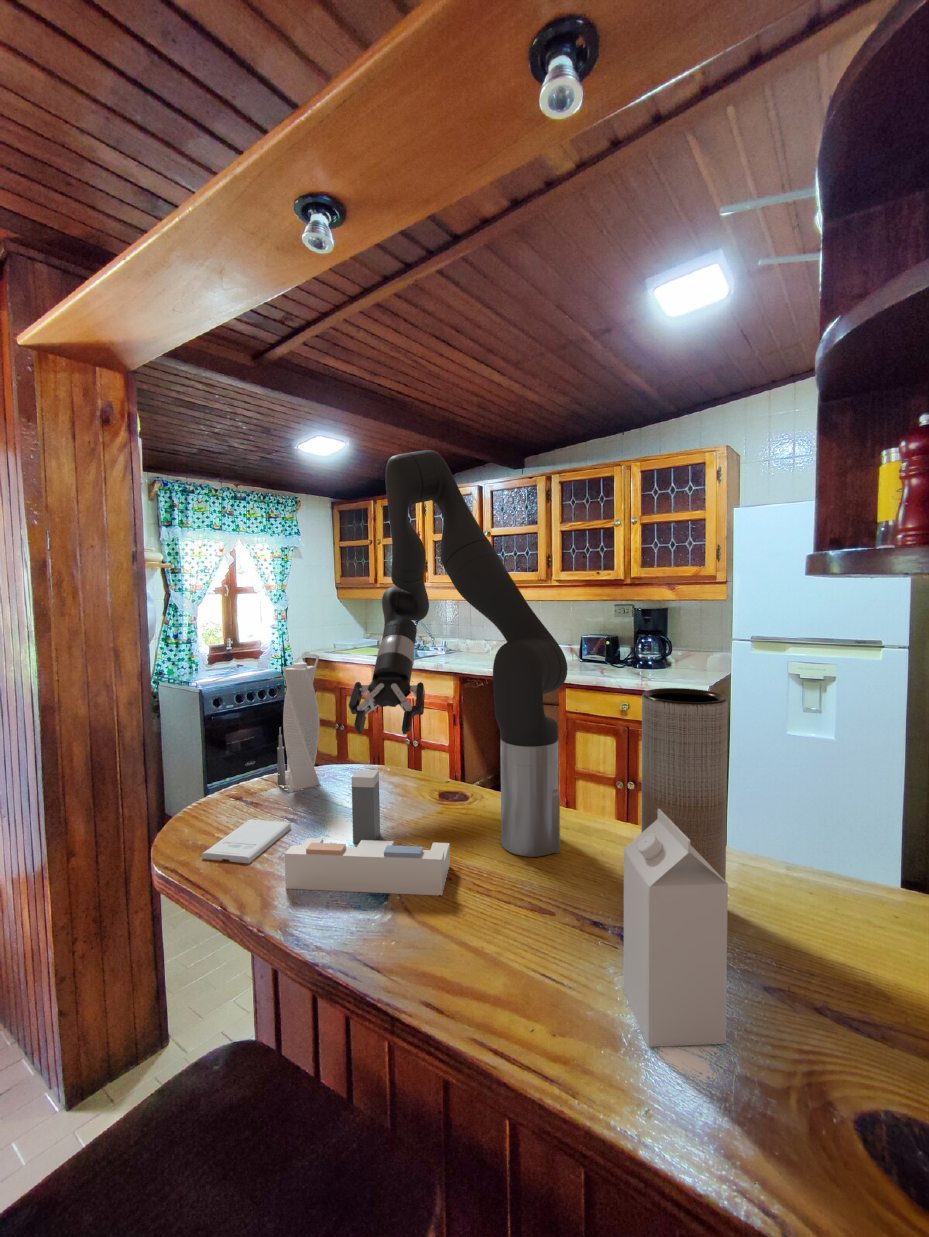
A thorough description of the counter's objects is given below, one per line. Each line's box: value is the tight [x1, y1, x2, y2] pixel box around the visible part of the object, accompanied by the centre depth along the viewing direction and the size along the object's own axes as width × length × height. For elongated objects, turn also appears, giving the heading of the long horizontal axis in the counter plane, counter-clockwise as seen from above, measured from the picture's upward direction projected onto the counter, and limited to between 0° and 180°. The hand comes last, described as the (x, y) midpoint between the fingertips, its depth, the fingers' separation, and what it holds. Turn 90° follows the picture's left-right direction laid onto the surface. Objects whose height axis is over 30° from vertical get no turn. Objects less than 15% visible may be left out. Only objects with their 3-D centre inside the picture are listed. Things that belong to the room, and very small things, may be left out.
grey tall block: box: [351, 769, 381, 844], centre depth 92 cm, size 4×4×11 cm
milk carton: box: [623, 809, 729, 1048], centre depth 52 cm, size 7×7×19 cm
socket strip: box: [284, 837, 451, 897], centre depth 79 cm, size 22×8×6 cm, turn 84°
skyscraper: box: [276, 654, 321, 793], centre depth 117 cm, size 8×8×28 cm
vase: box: [641, 687, 729, 882], centre depth 69 cm, size 10×10×28 cm
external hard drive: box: [201, 819, 292, 864], centre depth 91 cm, size 2×8×12 cm
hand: (381, 731), depth 102 cm, fingers open, 8 cm apart
